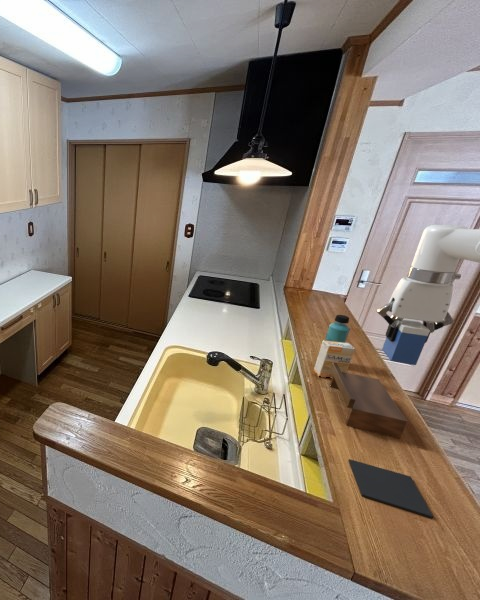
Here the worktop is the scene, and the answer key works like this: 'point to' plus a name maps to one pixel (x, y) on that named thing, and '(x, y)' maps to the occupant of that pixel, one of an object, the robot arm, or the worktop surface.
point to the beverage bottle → (338, 329)
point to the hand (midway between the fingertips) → (404, 341)
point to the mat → (389, 488)
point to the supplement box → (333, 357)
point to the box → (407, 342)
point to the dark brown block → (368, 403)
